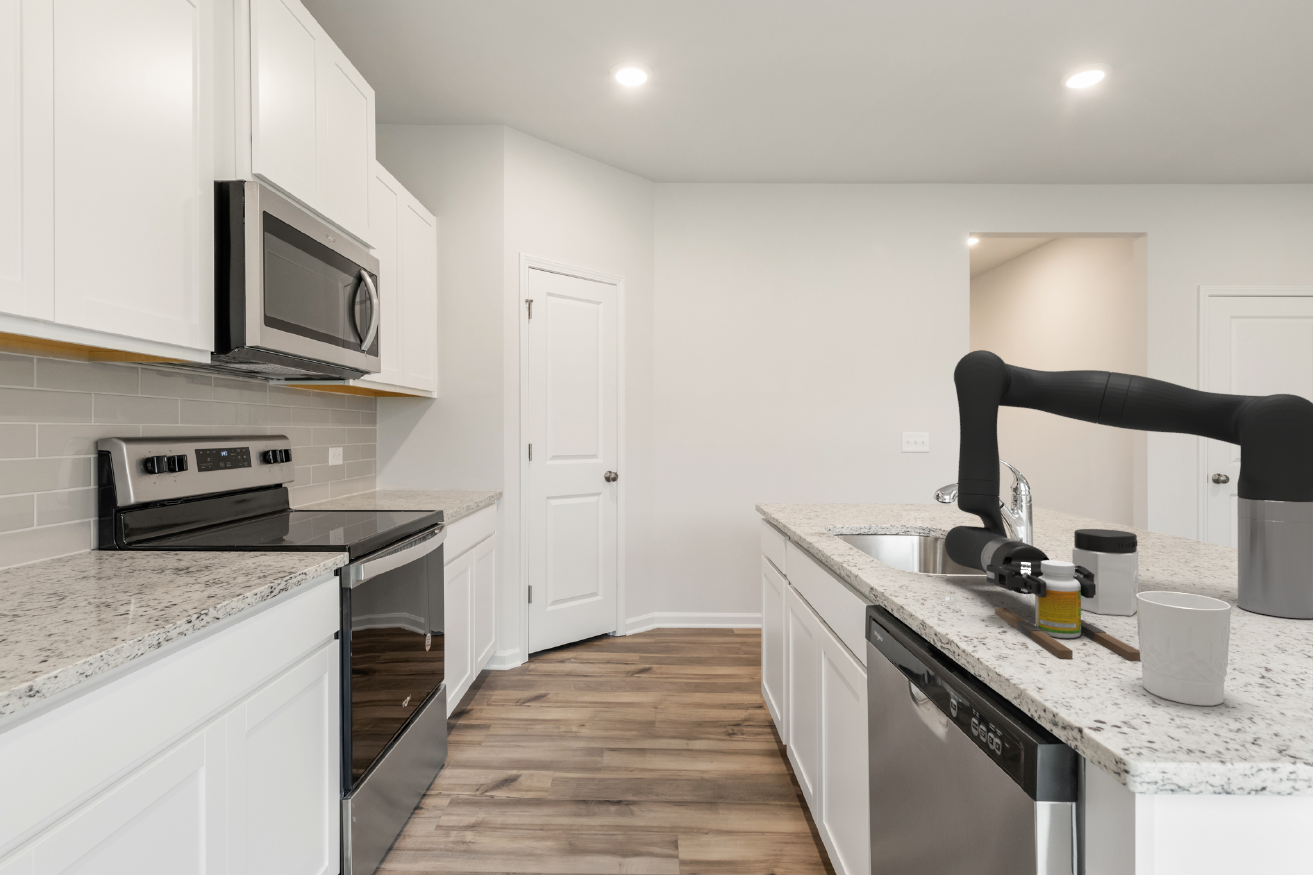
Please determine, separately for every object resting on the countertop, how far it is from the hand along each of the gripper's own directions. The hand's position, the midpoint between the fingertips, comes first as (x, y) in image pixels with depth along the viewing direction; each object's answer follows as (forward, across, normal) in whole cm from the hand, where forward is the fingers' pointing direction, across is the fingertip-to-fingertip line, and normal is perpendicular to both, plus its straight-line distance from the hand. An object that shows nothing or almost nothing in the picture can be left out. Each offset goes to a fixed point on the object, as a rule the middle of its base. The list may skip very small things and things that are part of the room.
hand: (1067, 590), depth 88 cm
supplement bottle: (-3, 0, +7) cm, 7 cm away
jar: (-17, +13, +7) cm, 22 cm away
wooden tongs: (-2, 0, +7) cm, 7 cm away
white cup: (+18, +3, +7) cm, 20 cm away
